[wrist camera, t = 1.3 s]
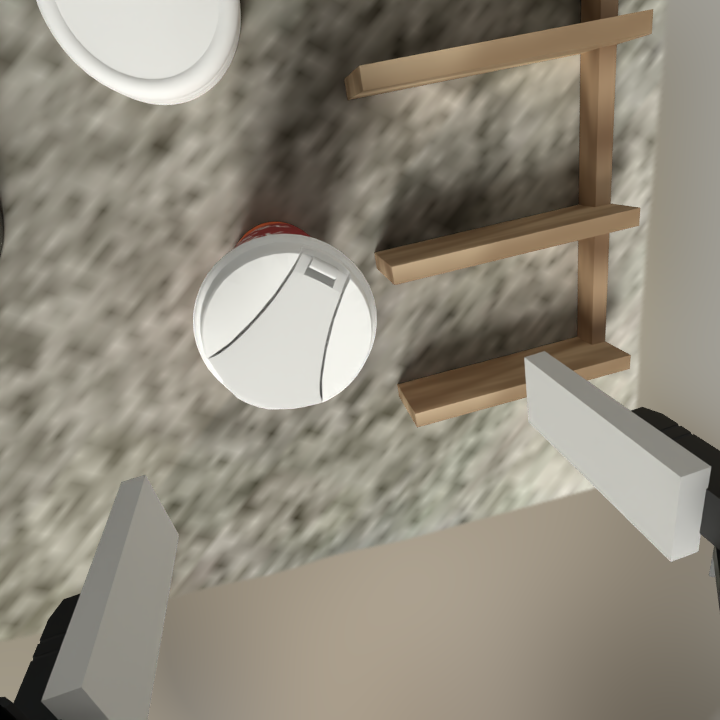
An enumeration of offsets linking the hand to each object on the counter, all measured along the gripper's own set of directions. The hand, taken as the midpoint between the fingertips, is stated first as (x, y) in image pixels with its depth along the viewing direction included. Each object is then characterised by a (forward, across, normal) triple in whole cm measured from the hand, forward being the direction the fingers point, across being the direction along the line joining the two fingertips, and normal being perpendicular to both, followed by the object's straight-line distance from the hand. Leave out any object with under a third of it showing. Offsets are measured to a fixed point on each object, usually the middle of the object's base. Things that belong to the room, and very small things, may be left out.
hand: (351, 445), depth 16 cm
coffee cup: (+21, -1, +2) cm, 21 cm away
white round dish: (+22, -3, +18) cm, 28 cm away
